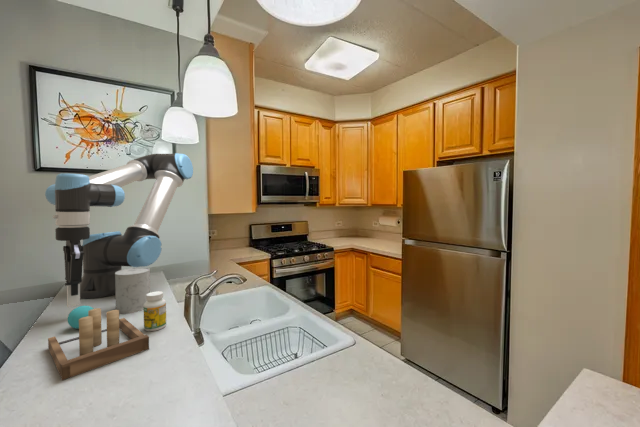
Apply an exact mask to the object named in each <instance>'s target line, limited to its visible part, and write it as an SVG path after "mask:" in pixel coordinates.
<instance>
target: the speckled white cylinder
mask: <svg viewBox="0 0 640 427" xmlns="http://www.w3.org/2000/svg"><path fill="white" fill-rule="evenodd" d="M150 270H151V269H150V268H149V267H132V268H125V269H122V270H120V271H117V272H115V288H116V294H115V310H119V314H121V315H123V314H134V313H138V311H139V312H142V311H144V308H143V306H144V303H145V302H146V301H147V299H146V294H148V293H151V278H150V277H151V274H150V273H151V271H150Z"/></svg>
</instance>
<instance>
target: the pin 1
mask: <svg viewBox="0 0 640 427" xmlns="http://www.w3.org/2000/svg"><path fill="white" fill-rule="evenodd" d="M78 334H79V335H78V337H79V339H78V341H79V342H78V344H79V346H78V347H79V349H78V350H79V353H78V354H79V356H82V355H85V354H88V353H91V352H94V347H93V317H92V316H87V317H83V318H80V319H79V329H78Z"/></svg>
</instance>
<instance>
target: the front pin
mask: <svg viewBox="0 0 640 427" xmlns="http://www.w3.org/2000/svg"><path fill="white" fill-rule="evenodd" d="M88 316H92V317H93V348H95V347H98V346H100V345H101V344H102V342H103V341H102V338H103V337H102V333H103V332H101V330H102V308H94V309H92V310H89V311H88Z"/></svg>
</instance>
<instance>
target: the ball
mask: <svg viewBox="0 0 640 427" xmlns="http://www.w3.org/2000/svg"><path fill="white" fill-rule="evenodd" d="M92 309H95V308H94V307H92V306H90V305H78V306H76V307H75V308H74V309H72V310H71V311H70V312H69V314H68V316H67V324H68V325H69V327H71V328H73V329H75V330H76V329H78V330H79V319H80V318H83V317H87V316H88V311H89V310H92Z"/></svg>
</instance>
